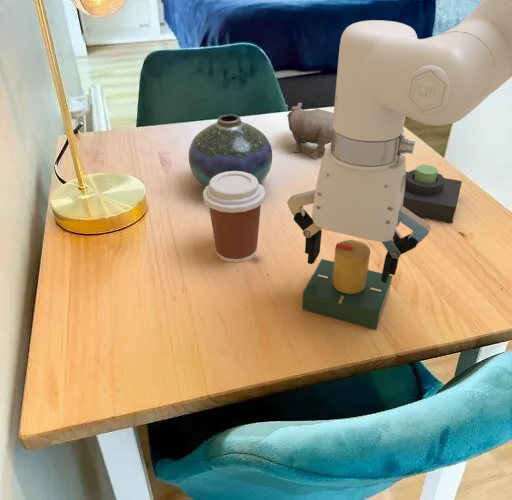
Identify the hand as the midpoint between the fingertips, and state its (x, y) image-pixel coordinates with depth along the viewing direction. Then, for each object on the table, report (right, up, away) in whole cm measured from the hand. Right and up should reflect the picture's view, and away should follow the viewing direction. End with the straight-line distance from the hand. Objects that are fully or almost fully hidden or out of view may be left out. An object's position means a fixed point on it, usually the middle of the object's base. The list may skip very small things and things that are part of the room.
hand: (349, 267), depth 66 cm
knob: (0, -2, +1) cm, 3 cm away
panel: (0, -5, +3) cm, 6 cm away
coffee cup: (-15, +2, +13) cm, 20 cm away
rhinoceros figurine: (-1, +24, +45) cm, 51 cm away
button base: (+17, +11, +25) cm, 32 cm away
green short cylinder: (+17, +14, +22) cm, 31 cm away
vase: (-17, +14, +31) cm, 38 cm away
